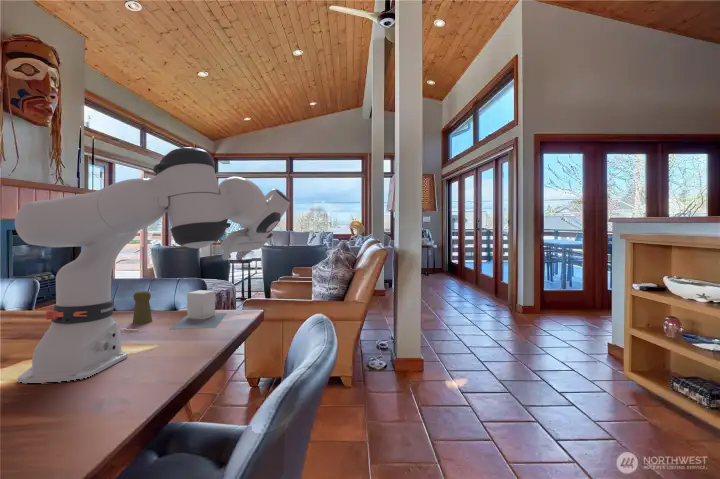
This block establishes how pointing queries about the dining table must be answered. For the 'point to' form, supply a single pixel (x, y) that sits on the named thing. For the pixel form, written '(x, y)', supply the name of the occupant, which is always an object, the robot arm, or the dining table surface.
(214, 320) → the mat
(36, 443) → the dining table surface
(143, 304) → the cork
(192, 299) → the cover
